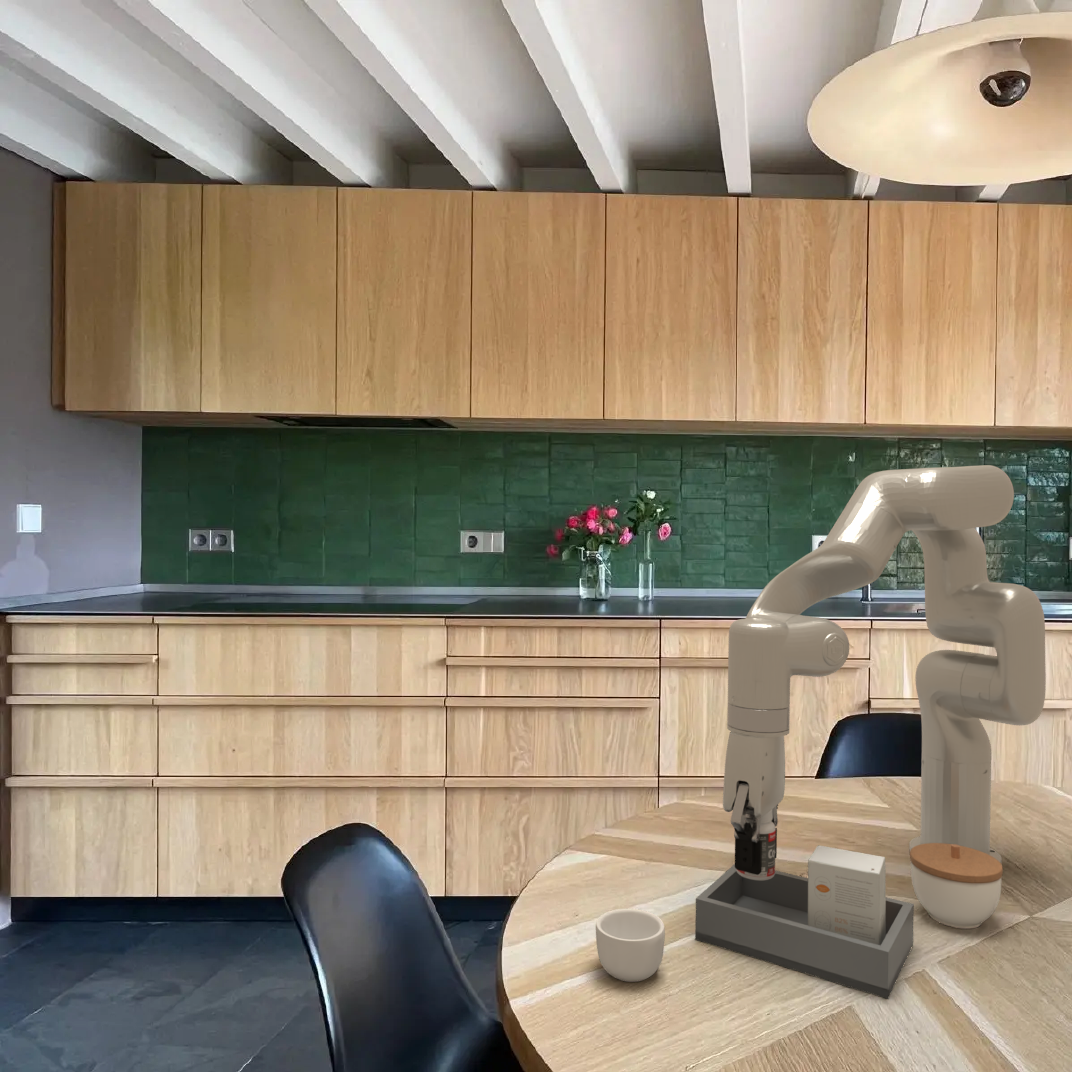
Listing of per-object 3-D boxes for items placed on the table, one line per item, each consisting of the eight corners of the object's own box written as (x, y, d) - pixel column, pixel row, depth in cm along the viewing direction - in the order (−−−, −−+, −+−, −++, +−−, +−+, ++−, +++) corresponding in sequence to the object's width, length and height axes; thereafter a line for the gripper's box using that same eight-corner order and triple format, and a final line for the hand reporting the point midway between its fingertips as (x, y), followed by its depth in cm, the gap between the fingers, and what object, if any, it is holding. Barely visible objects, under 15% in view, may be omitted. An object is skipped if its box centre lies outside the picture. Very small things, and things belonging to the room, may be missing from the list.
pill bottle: (776, 883, 101) (777, 814, 101) (736, 879, 102) (737, 811, 102) (773, 867, 106) (774, 802, 106) (735, 864, 107) (736, 799, 107)
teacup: (639, 999, 88) (639, 948, 88) (581, 973, 93) (581, 925, 93) (686, 962, 96) (687, 915, 96) (631, 940, 101) (631, 896, 101)
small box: (886, 945, 98) (887, 856, 98) (879, 967, 93) (881, 873, 93) (815, 928, 102) (816, 843, 102) (806, 948, 97) (807, 858, 97)
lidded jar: (901, 922, 106) (902, 849, 106) (916, 892, 115) (917, 824, 115) (997, 946, 100) (998, 869, 100) (1005, 913, 109) (1006, 841, 109)
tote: (737, 897, 113) (737, 861, 113) (913, 945, 100) (913, 904, 100) (695, 939, 101) (695, 898, 101) (887, 998, 89) (888, 952, 89)
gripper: (752, 703, 113) (750, 837, 113) (702, 726, 99) (700, 879, 99) (808, 711, 109) (806, 850, 109) (764, 736, 95) (762, 896, 95)
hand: (755, 862), depth 104 cm, fingers closed on pill bottle, 4 cm apart
